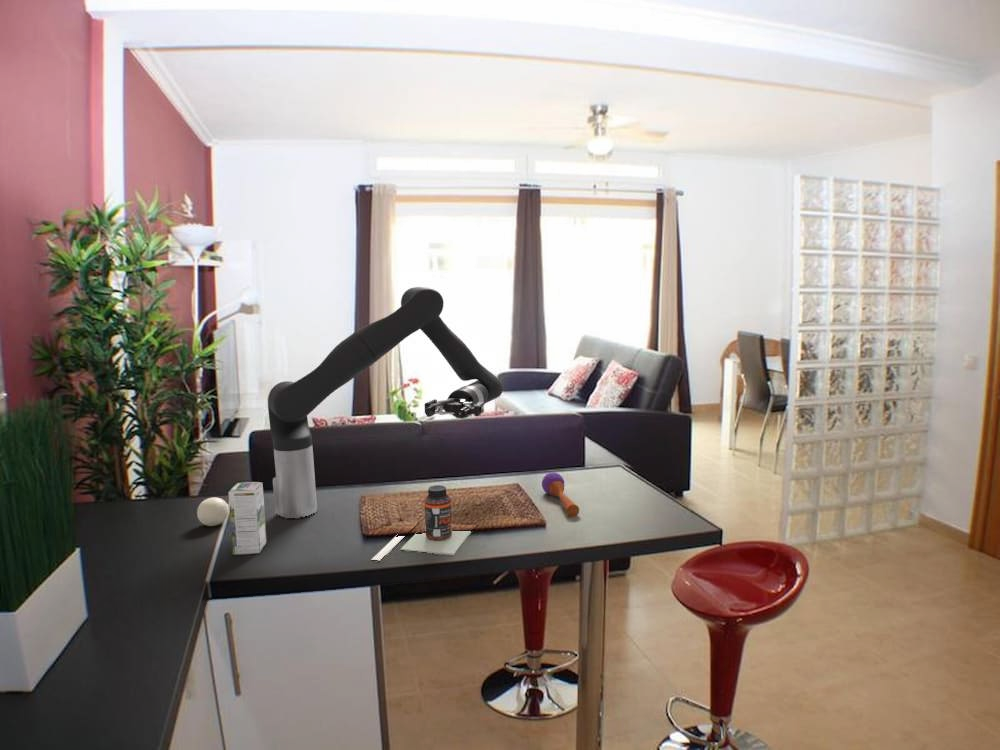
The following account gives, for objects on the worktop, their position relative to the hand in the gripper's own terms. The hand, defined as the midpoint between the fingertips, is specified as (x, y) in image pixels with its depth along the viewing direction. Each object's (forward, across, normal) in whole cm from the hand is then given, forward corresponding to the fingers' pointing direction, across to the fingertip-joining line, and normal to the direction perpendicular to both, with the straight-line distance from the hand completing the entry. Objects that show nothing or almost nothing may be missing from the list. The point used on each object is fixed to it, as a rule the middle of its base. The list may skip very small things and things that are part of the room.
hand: (444, 413), depth 157 cm
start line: (+16, -6, +26) cm, 31 cm away
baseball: (+16, -54, +27) cm, 62 cm away
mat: (+13, +3, +26) cm, 29 cm away
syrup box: (+27, -36, +27) cm, 52 cm away
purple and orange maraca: (-15, +26, +26) cm, 39 cm away
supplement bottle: (+13, +3, +26) cm, 29 cm away
